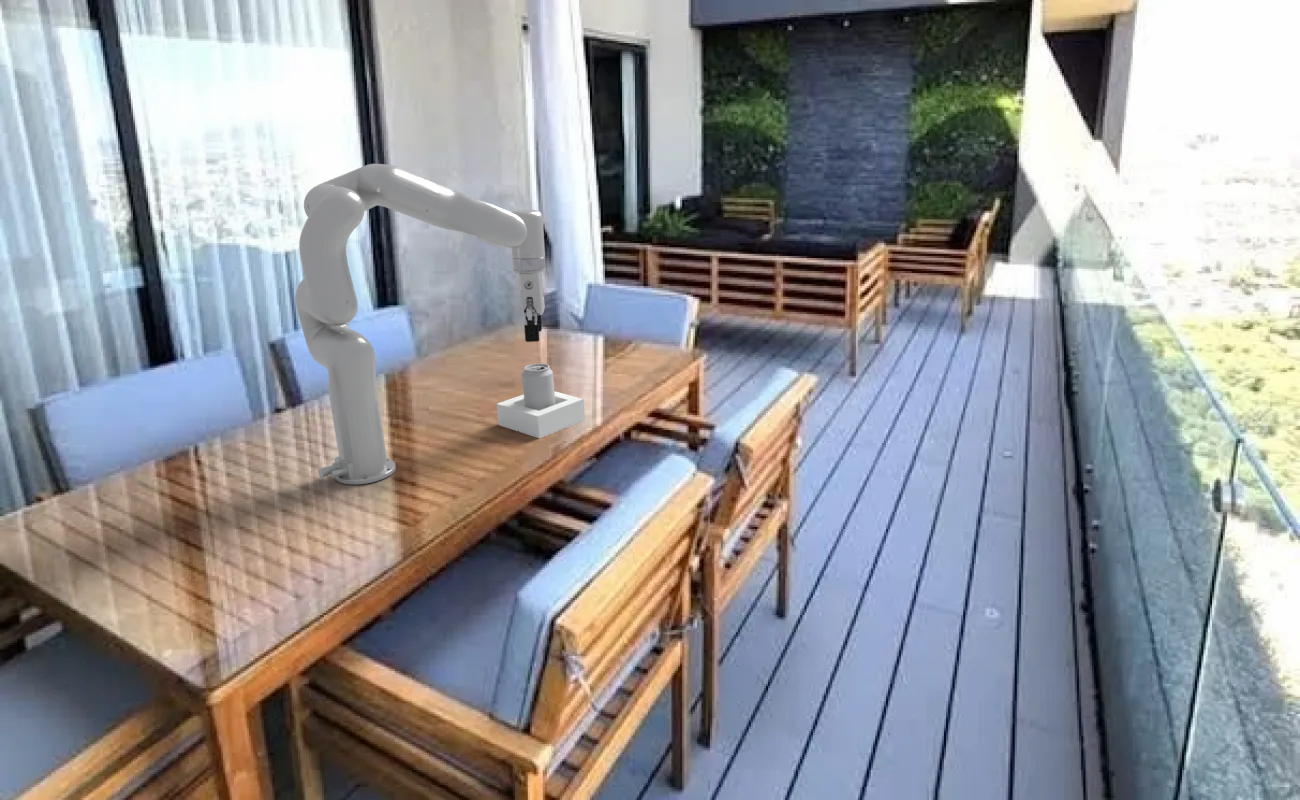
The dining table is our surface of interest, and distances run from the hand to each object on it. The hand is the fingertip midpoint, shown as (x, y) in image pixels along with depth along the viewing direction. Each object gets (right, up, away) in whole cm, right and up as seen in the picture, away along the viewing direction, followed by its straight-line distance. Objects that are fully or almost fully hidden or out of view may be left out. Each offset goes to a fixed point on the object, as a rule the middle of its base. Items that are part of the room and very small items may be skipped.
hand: (533, 336), depth 200 cm
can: (+1, -19, +7) cm, 20 cm away
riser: (+1, -21, +8) cm, 23 cm away
